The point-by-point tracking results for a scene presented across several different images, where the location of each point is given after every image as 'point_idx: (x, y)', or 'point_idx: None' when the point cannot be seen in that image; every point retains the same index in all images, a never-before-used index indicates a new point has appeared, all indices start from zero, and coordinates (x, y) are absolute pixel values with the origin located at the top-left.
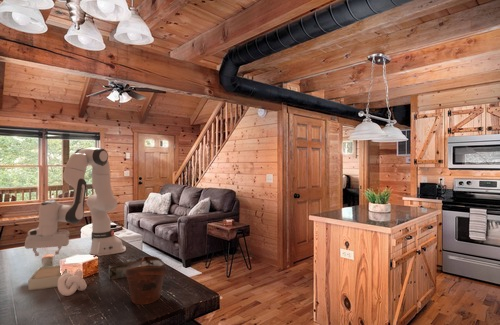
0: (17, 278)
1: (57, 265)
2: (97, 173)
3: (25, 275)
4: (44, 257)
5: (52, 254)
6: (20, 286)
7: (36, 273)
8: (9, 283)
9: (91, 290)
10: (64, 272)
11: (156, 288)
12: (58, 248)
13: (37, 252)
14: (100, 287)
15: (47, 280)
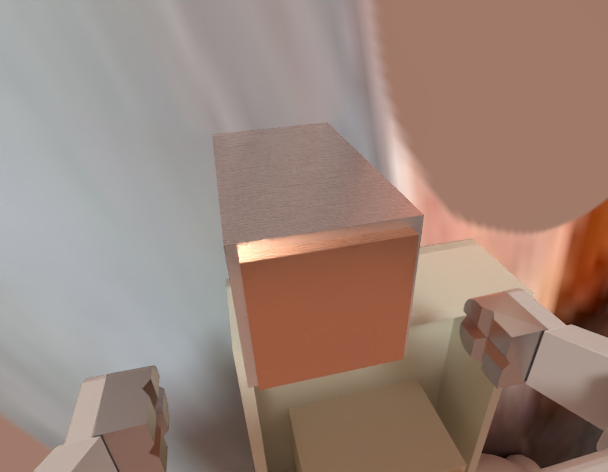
0: (4, 295)
1: (422, 318)
2: None
3: (37, 224)
4: (289, 381)
5: (394, 256)
6: (169, 431)
7: (262, 440)
8: (21, 389)
9: (549, 457)
10: (481, 451)
11: None
12: (603, 441)
13: (118, 449)
14: (587, 436)
15: None
